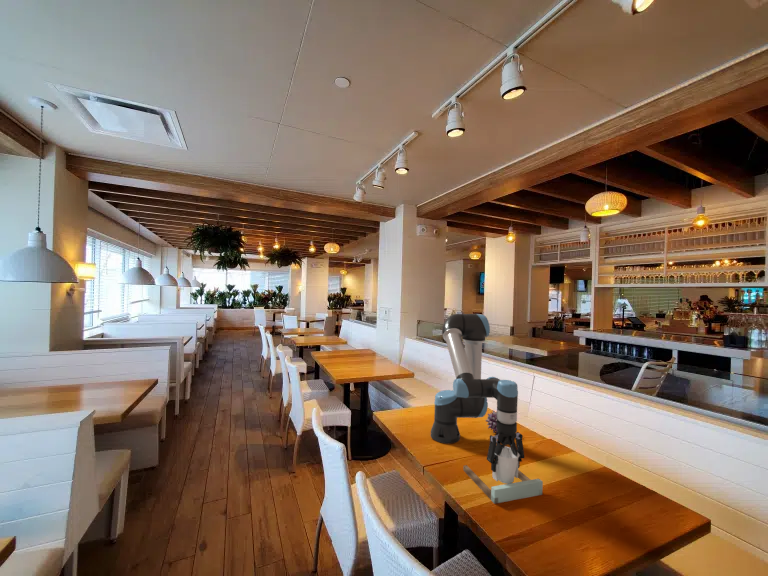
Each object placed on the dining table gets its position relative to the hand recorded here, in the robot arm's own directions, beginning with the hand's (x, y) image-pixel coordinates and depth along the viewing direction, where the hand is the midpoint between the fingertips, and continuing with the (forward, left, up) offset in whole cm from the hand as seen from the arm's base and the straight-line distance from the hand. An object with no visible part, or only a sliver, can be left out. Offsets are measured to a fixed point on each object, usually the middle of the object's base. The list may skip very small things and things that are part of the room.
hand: (505, 477), depth 128 cm
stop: (+7, 0, -3) cm, 8 cm away
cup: (0, 0, -1) cm, 1 cm away
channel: (-3, 0, -3) cm, 4 cm away
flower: (-42, +26, -4) cm, 49 cm away
